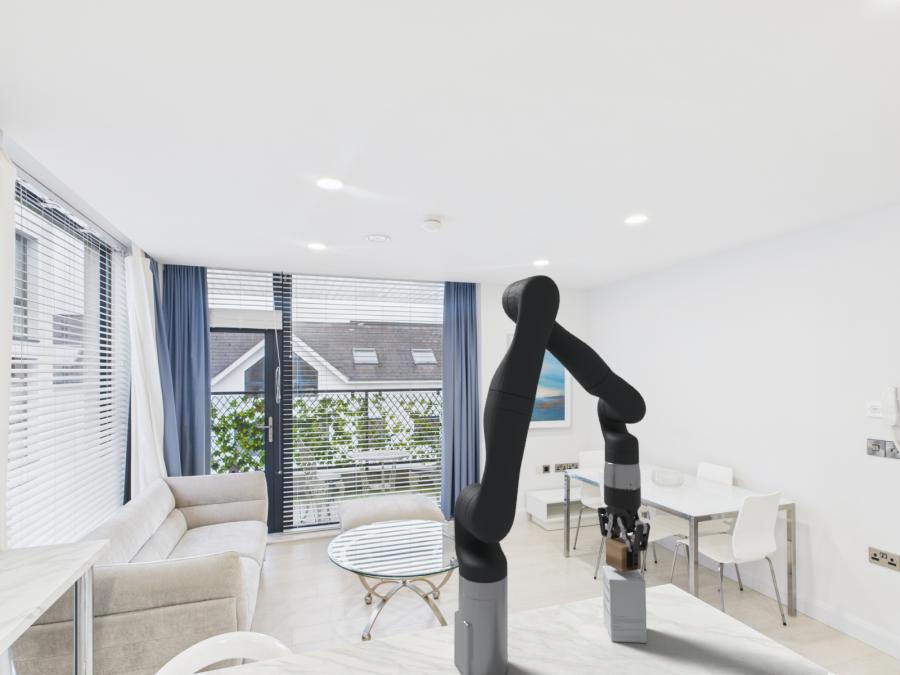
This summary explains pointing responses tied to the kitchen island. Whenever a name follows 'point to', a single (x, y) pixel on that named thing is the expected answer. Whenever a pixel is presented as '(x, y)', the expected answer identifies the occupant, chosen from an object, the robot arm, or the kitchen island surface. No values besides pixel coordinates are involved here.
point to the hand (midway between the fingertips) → (623, 563)
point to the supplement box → (624, 605)
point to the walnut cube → (619, 554)
